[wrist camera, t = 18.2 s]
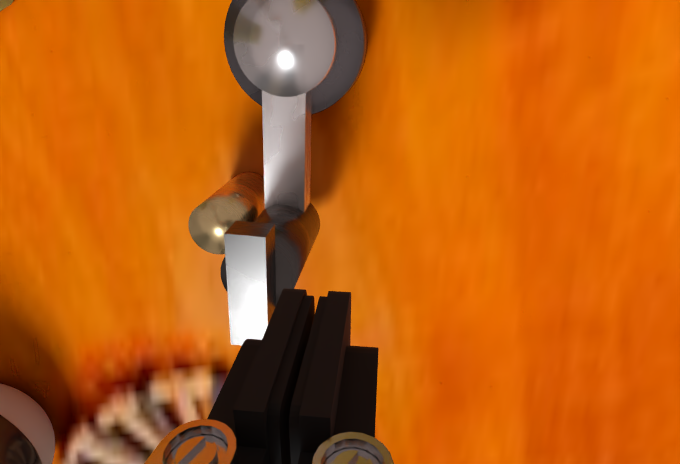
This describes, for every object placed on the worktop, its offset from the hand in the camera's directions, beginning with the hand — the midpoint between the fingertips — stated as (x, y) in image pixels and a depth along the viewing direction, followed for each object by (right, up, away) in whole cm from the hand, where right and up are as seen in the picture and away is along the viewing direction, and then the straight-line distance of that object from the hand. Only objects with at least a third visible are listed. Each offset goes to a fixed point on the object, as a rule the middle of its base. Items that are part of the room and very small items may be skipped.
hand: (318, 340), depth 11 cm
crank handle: (-2, +7, +9) cm, 11 cm away
